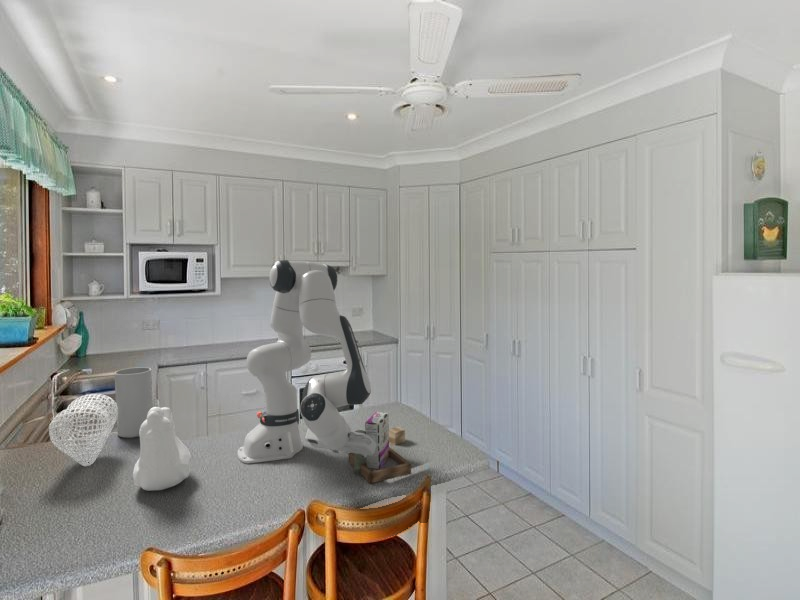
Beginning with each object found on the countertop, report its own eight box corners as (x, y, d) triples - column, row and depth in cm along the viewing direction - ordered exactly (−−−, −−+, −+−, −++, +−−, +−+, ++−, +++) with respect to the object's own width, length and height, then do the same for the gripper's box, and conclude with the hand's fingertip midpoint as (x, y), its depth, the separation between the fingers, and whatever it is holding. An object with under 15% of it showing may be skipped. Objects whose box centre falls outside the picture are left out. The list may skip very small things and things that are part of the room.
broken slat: (368, 454, 160) (368, 449, 160) (364, 450, 164) (364, 445, 163) (406, 445, 167) (406, 441, 167) (401, 442, 171) (401, 438, 170)
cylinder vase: (161, 428, 186) (158, 368, 184) (137, 439, 174) (133, 375, 172) (135, 426, 189) (132, 366, 187) (110, 437, 177) (106, 373, 175)
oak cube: (395, 445, 164) (395, 432, 164) (387, 441, 168) (387, 429, 167) (405, 441, 167) (404, 430, 166) (397, 438, 170) (397, 426, 170)
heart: (74, 452, 163) (70, 391, 161) (124, 446, 168) (121, 387, 166) (44, 488, 136) (39, 416, 135) (104, 480, 142) (100, 410, 140)
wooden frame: (366, 484, 138) (365, 442, 136) (345, 462, 153) (344, 424, 152) (411, 473, 145) (410, 433, 144) (386, 453, 160) (386, 417, 159)
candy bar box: (375, 457, 157) (375, 411, 156) (389, 459, 156) (389, 412, 155) (365, 472, 146) (364, 422, 145) (379, 473, 145) (379, 423, 144)
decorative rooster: (179, 498, 131) (175, 413, 129) (121, 501, 129) (116, 415, 127) (207, 460, 155) (204, 389, 153) (159, 462, 154) (155, 390, 152)
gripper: (370, 426, 128) (384, 447, 137) (307, 418, 135) (325, 438, 145) (364, 447, 124) (379, 467, 134) (299, 438, 131) (318, 458, 141)
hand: (350, 452), depth 139 cm, fingers open, 8 cm apart
